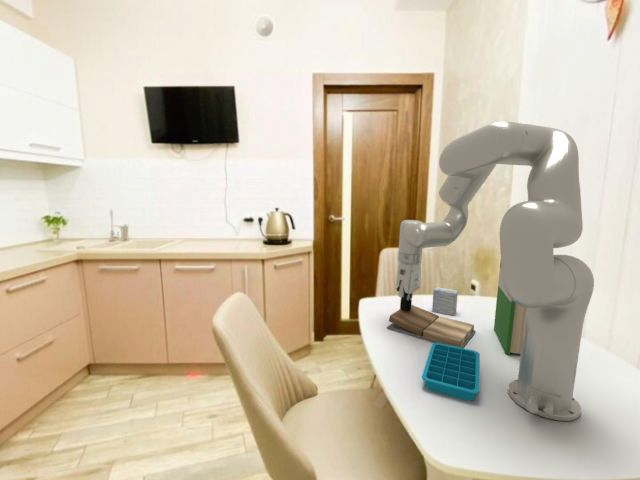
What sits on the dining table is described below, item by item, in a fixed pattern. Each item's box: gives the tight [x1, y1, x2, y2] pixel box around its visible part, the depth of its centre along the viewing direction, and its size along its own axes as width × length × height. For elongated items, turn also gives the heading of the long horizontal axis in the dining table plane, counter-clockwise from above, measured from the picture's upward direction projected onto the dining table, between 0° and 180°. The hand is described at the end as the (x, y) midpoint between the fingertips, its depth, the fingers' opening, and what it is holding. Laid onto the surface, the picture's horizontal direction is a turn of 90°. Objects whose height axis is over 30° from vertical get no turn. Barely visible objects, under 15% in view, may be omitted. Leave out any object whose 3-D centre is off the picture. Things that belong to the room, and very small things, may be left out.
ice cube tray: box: [421, 343, 481, 402], centre depth 77 cm, size 12×20×3 cm, turn 153°
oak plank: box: [423, 316, 475, 348], centre depth 98 cm, size 15×11×2 cm
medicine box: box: [431, 287, 459, 316], centre depth 117 cm, size 8×4×9 cm, turn 58°
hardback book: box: [493, 261, 527, 357], centre depth 92 cm, size 18×7×24 cm, turn 161°
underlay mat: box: [386, 322, 476, 348], centre depth 101 cm, size 16×23×1 cm
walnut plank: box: [388, 304, 440, 336], centre depth 105 cm, size 15×11×2 cm
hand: (405, 309), depth 107 cm, fingers closed
